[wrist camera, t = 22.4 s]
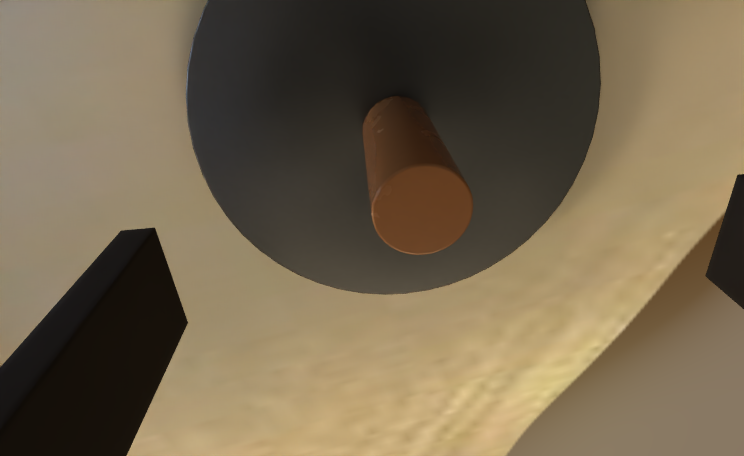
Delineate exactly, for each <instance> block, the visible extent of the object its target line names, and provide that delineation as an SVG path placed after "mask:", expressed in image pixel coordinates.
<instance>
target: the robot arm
mask: <svg viewBox="0 0 744 456" xmlns="http://www.w3.org/2000/svg"><path fill="white" fill-rule="evenodd" d="M706 277H707V278H708V279H709V280H710V281H712V282H713V283H714V284H715V285H716V286H718V287H719V288H720V289H721V290H722V291H723V292H724V293H726V294H727V295H728V296H729V297H730V298H732V299H733V300H734V301H735V302H736V303H737V304H738V305H740V306H741V307H742V308H743V309H744V174H741V175H737V178H736V181H735V184H734V188H733V191H732V194H731V197H730V200H729V203H728V207H727V210H726V213H725V216H724V219H723V222H722V225H721V229H720V232H719V235H718V238H717V241H716V245H715V247H714V251H713V254H712V257H711V260H710V263H709V266H708V270H707V273H706ZM187 324H188V321H187V318H186V316H185V313H184V310H183V307H182V304H181V301H180V298H179V295H178V293H177V290H176V287H175V284H174V281H173V278H172V275H171V273H170V270H169V267H168V264H167V261H166V258H165V255H164V252H163V250H162V247H161V244H160V241H159V238H158V235H157V232H156V229H155V228H146V229H135V230H124V231H120V232H119V234H118V235H117V236H116V237H115V238H114V239H113V240H112V242H111V243H110V244H109V245H108V246H107V247H106V248H105V249H104V251H103V252H102V253H101V254H100V255H99V256H98V257H97V259H96V260H95V261H94V262H93V263H92V264H91V265H90V266H89V268H88V269H87V270H86V271H85V272H84V273H83V274H82V276H81V277H80V278H79V279H78V280H77V281H76V282H75V283H74V285H73V286H72V287H71V288H70V289H69V290H68V291H67V293H66V294H65V295H64V296H63V297H62V298H61V299H60V300H59V302H58V303H57V304H56V305H55V306H54V307H53V308H52V309H51V311H50V312H49V313H48V314H47V315H46V316H45V317H44V319H43V320H42V321H41V322H40V323H39V324H38V325H37V326H36V328H35V329H34V330H33V331H32V332H31V333H30V334H29V336H28V337H27V338H26V339H25V340H24V341H23V342H22V343H21V345H20V346H19V347H18V348H17V349H16V350H15V351H14V353H13V354H12V355H11V356H10V357H9V358H8V359H7V360H6V362H5V363H4V364H3V365H2V366H1V367H0V456H127V453H128V451H129V449H130V447H131V445H132V443H133V440H134V438H135V436H136V434H137V432H138V430H139V427H140V425H141V423H142V421H143V419H144V417H145V414H146V412H147V410H148V408H149V406H150V404H151V401H152V399H153V397H154V395H155V393H156V391H157V389H158V386H159V384H160V382H161V380H162V378H163V376H164V373H165V371H166V369H167V367H168V365H169V363H170V360H171V358H172V356H173V354H174V352H175V350H176V347H177V345H178V343H179V341H180V339H181V337H182V334H183V332H184V330H185V328H186V326H187Z"/></svg>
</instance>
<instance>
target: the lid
mask: <svg viewBox="0 0 744 456" xmlns="http://www.w3.org/2000/svg"><path fill="white" fill-rule="evenodd" d="M600 87H601V79H600V56H599V51H598V45H597V39H596V34H595V28H594V25H593V22H592V19H591V16H590V13H589V10H588V7H587V4H586V1H585V0H208V2H207V4H206V5H205V7H204V10H203V12H202V15H201V18H200V21H199V24H198V26H197V29H196V32H195V35H194V38H193V43H192V48H191V52H190V57H189V62H188V69H187V85H186V104H187V118H188V126H189V131H190V135H191V140H192V145H193V149H194V152H195V155H196V158H197V161H198V164H199V167H200V169H201V172H202V175H203V177H204V179H205V181H206V183H207V185H208V187H209V189H210V191H211V193H212V195H213V197H214V198H215V200H216V201H217V203H218V204H219V206H220V207H221V209H222V210H223V212H224V213H225V215H226V216H227V217H228V218H229V220H230V221H231V222H232V223H233V224H234V225H235V227H236V228H237V229H238V230H239V231H240V232H241V234H242V235H243V236H244V237H246V238H247V239H248V240H249V241H250V242H251V243H252V244H253V245H254V246H255V247H257V248H258V249H259V250H260V251H261V252H263V253H264V254H265V255H267V256H268V257H270V258H271V259H272V260H274V261H275V262H277V263H278V264H280V265H282V266H283V267H285V268H287V269H289V270H291V271H292V272H294V273H296V274H298V275H300V276H303V277H305V278H307V279H310V280H312V281H315V282H317V283H320V284H323V285H327V286H330V287H334V288H337V289H341V290H347V291H353V292H358V293H368V294H406V293H413V292H419V291H426V290H431V289H434V288H438V287H442V286H446V285H450V284H452V283H455V282H458V281H460V280H463V279H466V278H468V277H471V276H473V275H475V274H477V273H479V272H481V271H483V270H485V269H487V268H489V267H491V266H492V265H494V264H495V263H497V262H499V261H500V260H502V259H503V258H505V257H506V256H508V255H509V254H511V253H512V252H513V251H515V250H516V249H517V248H518V247H520V246H521V245H522V244H523V243H525V242H526V241H527V240H528V239H529V238H530V237H531V236H532V235H533V234H534V233H535V232H536V231H537V230H538V229H539V228H540V227H541V226H542V225H543V224H544V223H545V222H546V221H547V220H548V218H549V217H550V216H551V215H552V214H553V212H554V211H555V210H556V209H557V207H558V206H559V205H560V203H561V202H562V200H563V199H564V197H565V196H566V194H567V192H568V191H569V189H570V188H571V186H572V185H573V183H574V181H575V179H576V177H577V175H578V173H579V171H580V169H581V167H582V165H583V162H584V160H585V157H586V154H587V152H588V149H589V146H590V143H591V140H592V137H593V133H594V129H595V124H596V119H597V115H598V109H599V98H600Z"/></svg>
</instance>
